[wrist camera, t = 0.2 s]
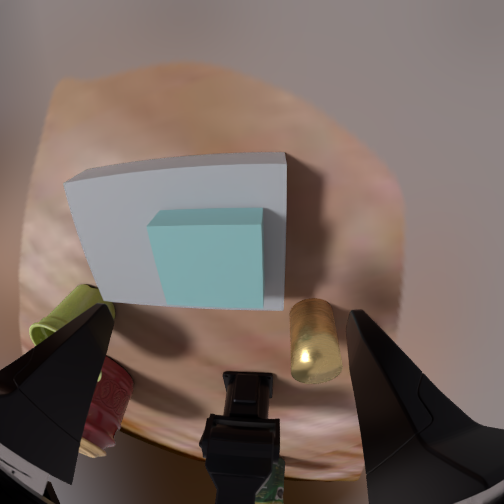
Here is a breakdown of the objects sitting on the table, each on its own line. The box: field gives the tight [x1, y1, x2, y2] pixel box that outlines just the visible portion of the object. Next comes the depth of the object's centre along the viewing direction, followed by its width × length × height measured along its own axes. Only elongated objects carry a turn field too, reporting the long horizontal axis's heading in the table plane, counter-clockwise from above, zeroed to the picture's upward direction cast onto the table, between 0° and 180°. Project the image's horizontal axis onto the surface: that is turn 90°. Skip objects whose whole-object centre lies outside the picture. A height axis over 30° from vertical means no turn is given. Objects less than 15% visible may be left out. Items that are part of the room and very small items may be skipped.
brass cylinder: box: [290, 298, 342, 384], centre depth 25 cm, size 4×4×7 cm
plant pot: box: [29, 284, 115, 381], centre depth 26 cm, size 9×9×9 cm
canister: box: [79, 357, 134, 458], centre depth 31 cm, size 13×13×18 cm
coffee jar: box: [255, 457, 285, 504], centre depth 50 cm, size 10×8×19 cm
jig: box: [63, 152, 287, 311], centre depth 22 cm, size 12×17×4 cm
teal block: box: [146, 208, 265, 308], centre depth 19 cm, size 6×7×2 cm
